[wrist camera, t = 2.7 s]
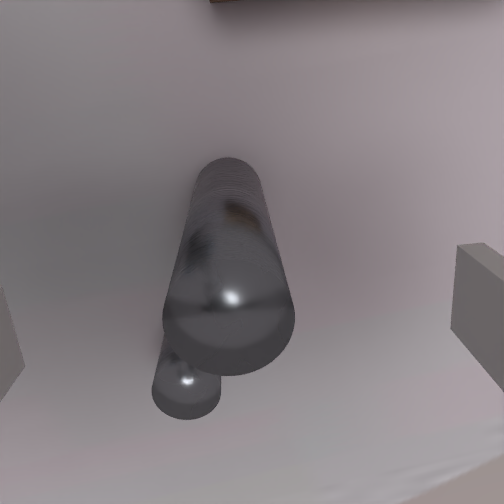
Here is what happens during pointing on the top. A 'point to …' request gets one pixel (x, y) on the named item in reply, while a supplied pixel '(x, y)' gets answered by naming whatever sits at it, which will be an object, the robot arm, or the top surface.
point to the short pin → (183, 387)
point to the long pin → (228, 277)
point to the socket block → (221, 0)
